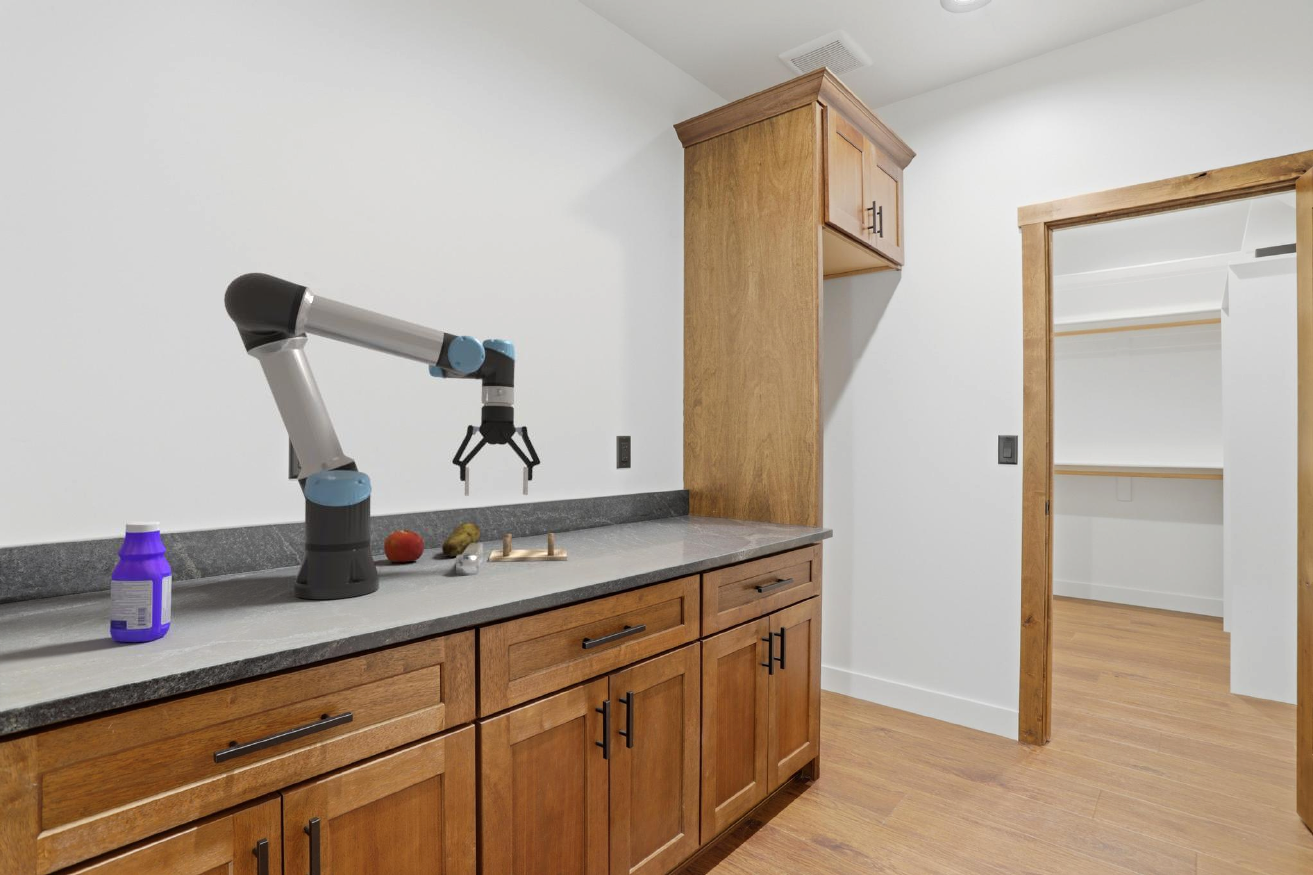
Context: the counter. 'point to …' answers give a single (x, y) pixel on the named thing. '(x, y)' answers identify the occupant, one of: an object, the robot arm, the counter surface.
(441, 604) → the counter surface
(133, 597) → the bottle
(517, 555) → the rack
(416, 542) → the tomato
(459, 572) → the clear glass container
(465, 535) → the potato
